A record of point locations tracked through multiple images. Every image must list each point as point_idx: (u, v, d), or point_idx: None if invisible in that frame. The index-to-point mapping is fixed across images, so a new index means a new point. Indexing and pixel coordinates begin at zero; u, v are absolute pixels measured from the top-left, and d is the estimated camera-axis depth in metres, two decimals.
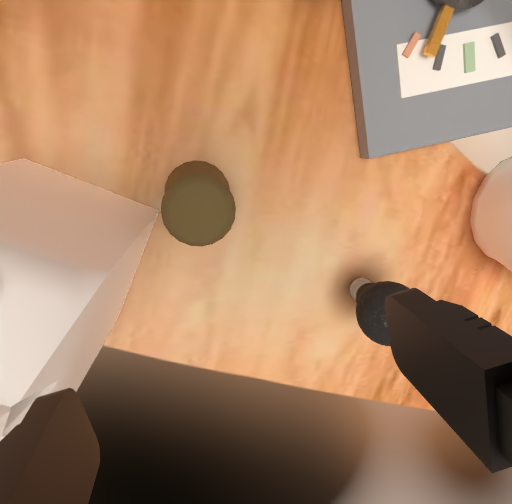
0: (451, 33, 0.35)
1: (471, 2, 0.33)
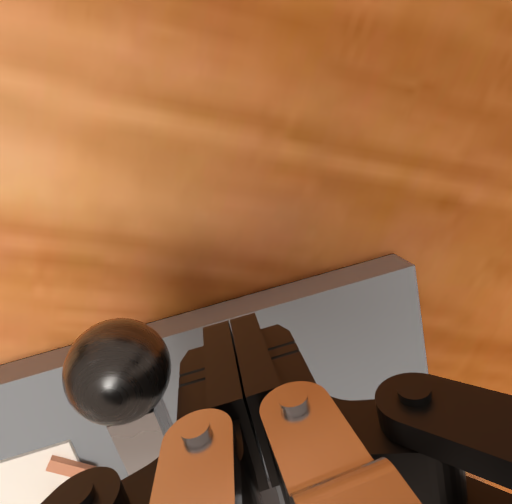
0: None
1: None
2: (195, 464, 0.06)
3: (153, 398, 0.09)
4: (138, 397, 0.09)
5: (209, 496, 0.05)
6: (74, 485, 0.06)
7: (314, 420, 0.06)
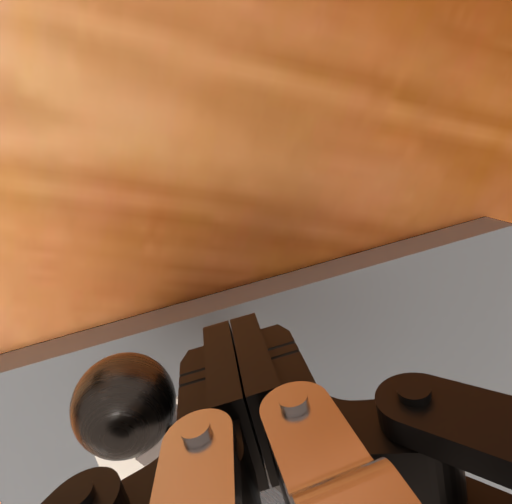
0: None
1: None
2: (195, 464, 0.06)
3: (160, 419, 0.09)
4: (143, 424, 0.09)
5: (209, 496, 0.05)
6: (74, 485, 0.06)
7: (314, 420, 0.06)
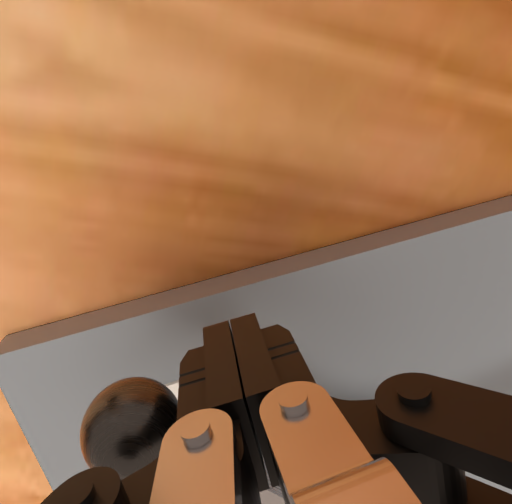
0: None
1: None
2: (195, 464, 0.06)
3: None
4: (150, 447, 0.09)
5: (209, 496, 0.05)
6: (75, 484, 0.06)
7: (314, 420, 0.06)
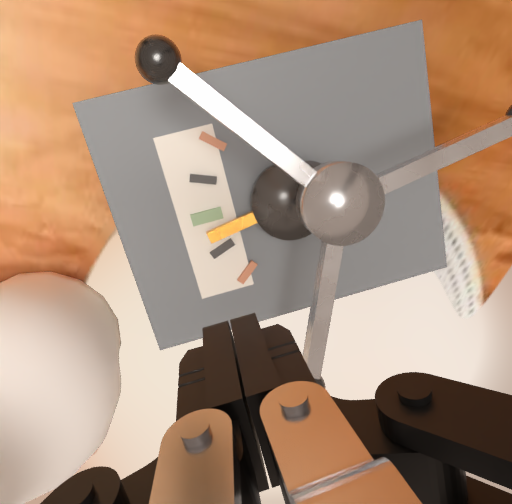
0: (230, 191, 0.31)
1: (273, 231, 0.30)
2: (194, 464, 0.06)
3: (173, 51, 0.20)
4: (166, 50, 0.20)
5: (208, 496, 0.05)
6: (74, 485, 0.06)
7: (314, 420, 0.06)
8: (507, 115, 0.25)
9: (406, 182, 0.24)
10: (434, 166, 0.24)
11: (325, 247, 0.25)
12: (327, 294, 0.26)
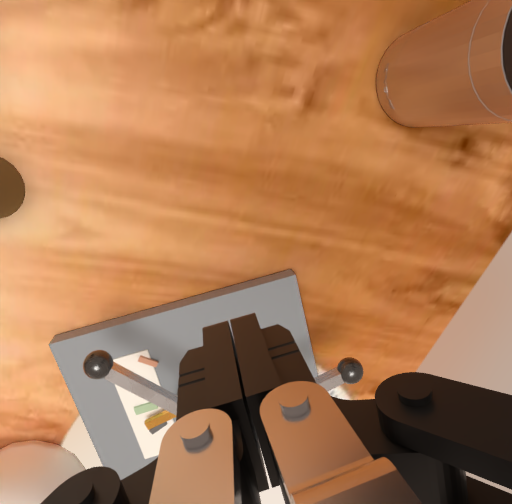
0: None
1: None
2: (195, 464, 0.06)
3: (106, 365, 0.33)
4: (101, 367, 0.33)
5: (209, 496, 0.05)
6: (74, 485, 0.06)
7: (314, 420, 0.06)
8: (336, 369, 0.38)
9: None
10: None
11: None
12: None
